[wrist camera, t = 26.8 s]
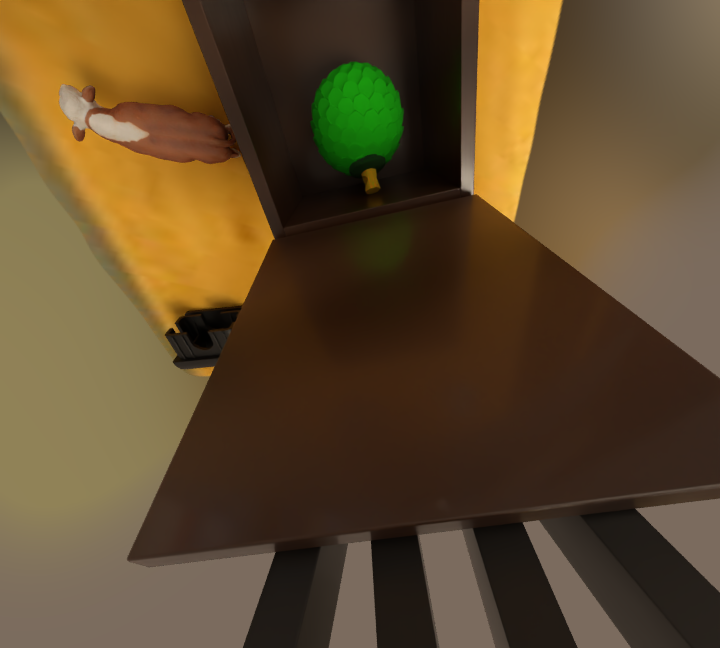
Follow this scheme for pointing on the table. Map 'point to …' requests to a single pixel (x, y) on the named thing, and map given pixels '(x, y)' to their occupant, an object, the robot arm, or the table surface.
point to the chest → (302, 79)
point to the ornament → (357, 121)
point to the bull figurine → (150, 128)
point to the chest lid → (428, 396)
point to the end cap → (202, 336)
